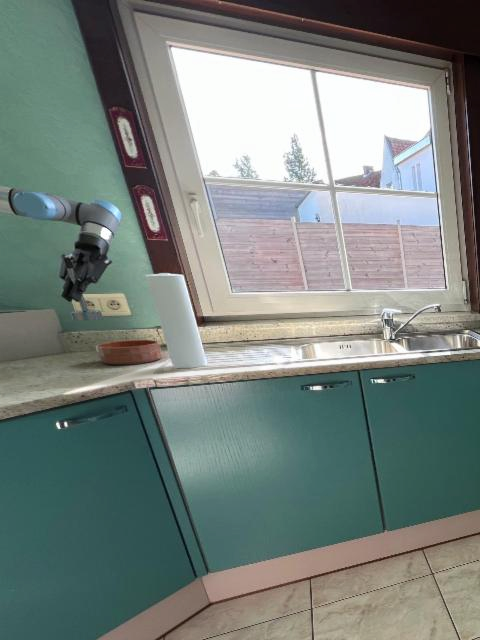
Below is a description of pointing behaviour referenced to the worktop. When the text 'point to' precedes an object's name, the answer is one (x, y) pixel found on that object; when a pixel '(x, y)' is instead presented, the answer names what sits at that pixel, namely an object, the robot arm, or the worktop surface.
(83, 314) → the potato masher
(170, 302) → the cylinder container
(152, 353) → the bowl
